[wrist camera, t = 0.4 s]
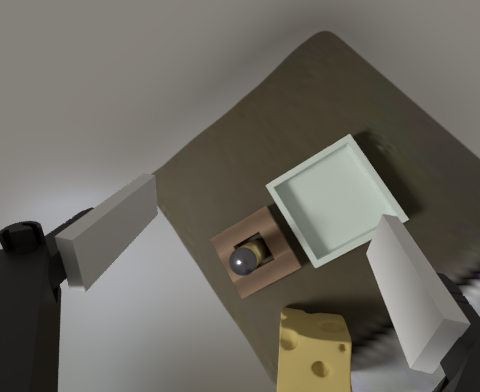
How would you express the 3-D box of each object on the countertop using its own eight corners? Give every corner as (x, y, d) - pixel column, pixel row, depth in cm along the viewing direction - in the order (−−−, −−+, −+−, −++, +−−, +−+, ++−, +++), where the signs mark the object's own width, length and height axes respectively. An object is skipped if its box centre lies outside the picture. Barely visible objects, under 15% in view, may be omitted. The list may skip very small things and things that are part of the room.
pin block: (301, 264, 46) (301, 267, 44) (245, 294, 49) (241, 298, 46) (267, 206, 48) (265, 206, 46) (214, 237, 51) (210, 239, 48)
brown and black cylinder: (270, 255, 48) (260, 267, 37) (252, 265, 49) (237, 280, 38) (260, 235, 48) (247, 243, 38) (242, 246, 49) (224, 256, 39)
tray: (401, 218, 43) (409, 219, 39) (314, 264, 46) (315, 268, 42) (346, 139, 46) (349, 133, 42) (268, 187, 49) (265, 185, 45)
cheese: (282, 305, 47) (276, 330, 37) (346, 313, 44) (357, 342, 35) (281, 364, 46) (274, 405, 37) (345, 376, 44) (356, 423, 34)
